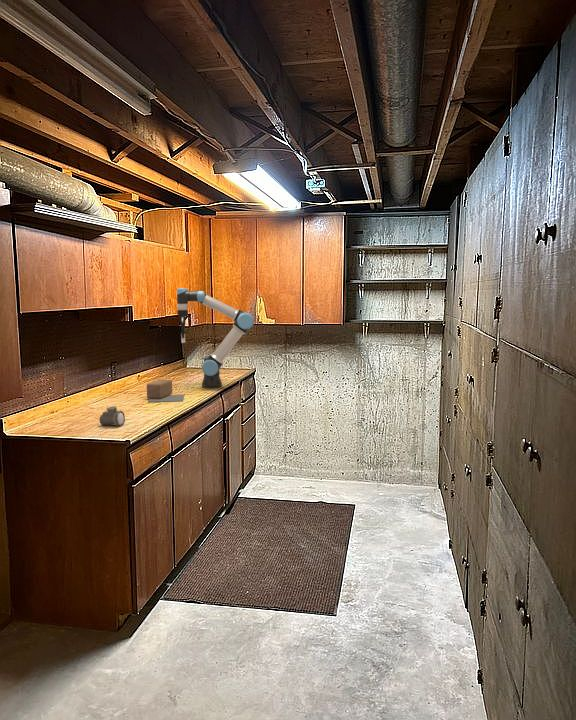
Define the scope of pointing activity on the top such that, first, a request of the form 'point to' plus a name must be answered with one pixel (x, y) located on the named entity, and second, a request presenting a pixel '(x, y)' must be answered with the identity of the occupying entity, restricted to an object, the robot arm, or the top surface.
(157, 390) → the block
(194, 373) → the top surface
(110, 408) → the pipe fitting
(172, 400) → the mat
